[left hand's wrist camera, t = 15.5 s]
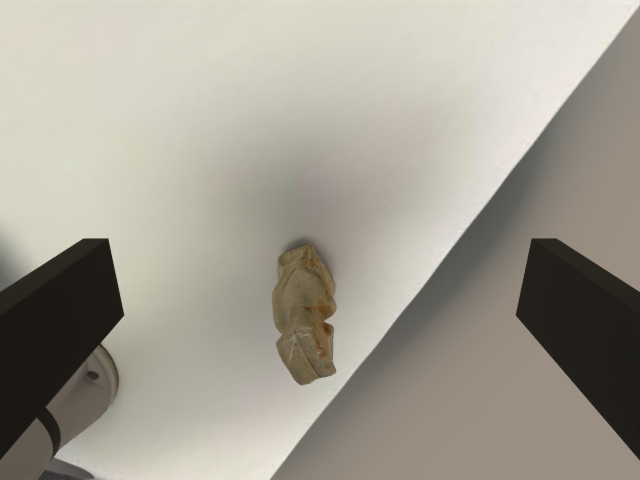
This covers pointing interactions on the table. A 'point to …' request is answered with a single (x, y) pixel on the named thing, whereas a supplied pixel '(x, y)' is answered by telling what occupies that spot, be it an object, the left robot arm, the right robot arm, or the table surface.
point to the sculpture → (304, 314)
